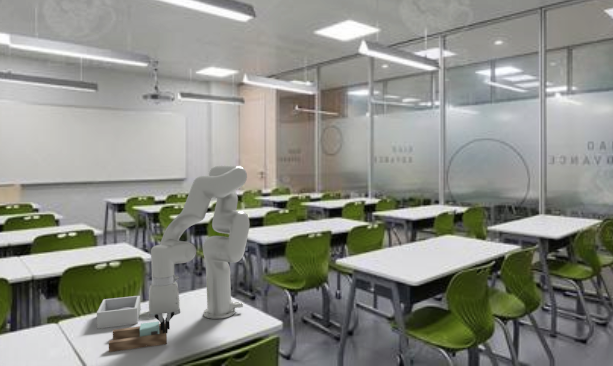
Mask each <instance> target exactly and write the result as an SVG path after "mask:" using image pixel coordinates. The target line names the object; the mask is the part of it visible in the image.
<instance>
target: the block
mask: <svg viewBox="0 0 613 366" xmlns="http://www.w3.org/2000/svg"><path fill="white" fill-rule="evenodd" d="M159 324H160V321H152V322H143V323H140V325H139V326H140V337H141V336H148V335H151V332H154V331H157V334H159Z"/></svg>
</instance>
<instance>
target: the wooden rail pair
mask: <svg viewBox="0 0 613 366" xmlns="http://www.w3.org/2000/svg"><path fill="white" fill-rule="evenodd" d="M140 326H141V325H139V326H132V327H124V328H116V329H113V330H112V340H109V341H108V353H111V352H119V351H125V350H127V351H128V350H132V349H133V350H134V349H135V350H136V349H139V348H147V347H154V346H162V345H167V344H168V337H167V335H168V333H163V330H161V325H160V323H159V334H157V331H154V332H151V335H148V336H141V337H140Z"/></svg>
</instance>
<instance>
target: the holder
mask: <svg viewBox="0 0 613 366" xmlns="http://www.w3.org/2000/svg"><path fill="white" fill-rule="evenodd" d="M124 307H133V308H128V309H121V308H124ZM141 307H142V306H141V295H133V296H131V295H130V296H124V297H114V298H106V299H105V298H104V299H103V300H102V302H101V303H100V305H99V308H98V310H97V311H96V325H97V326H96V327H97V329H104V328H105V329H106V328H114V327H122V326H128V325H130V326H131V325H138V323H139V319H140V314H141V310H142V308H141ZM117 309H119V310H117Z"/></svg>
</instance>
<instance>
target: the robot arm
mask: <svg viewBox="0 0 613 366" xmlns="http://www.w3.org/2000/svg"><path fill="white" fill-rule="evenodd" d="M208 172H209V173H208V175H201V176H198V177H196V178H195V179H194V180H193V183H192V185H191V188H190V190H189V193H188V194H187V195H188V196H187V198H186V200H185V203H184V206H183V208H182V210H181V212H180V213H179V214H178V215H177V216H175V218H174V219H173V220H172V221H171V222H170V223H169V224H168V225H167V227H166V229H165V231H164V232H163V235H162V238H161V241H160V244H156V245H154V246H152V247H151V249H150V260H151V262H150V263H151V284H150V285H149V291H148V314H147V315H148V317H149V318H153V319H156V320H158V322H159V324H160V325H161V330H163V333H167V334H168V333H169V332H168V331H169V330H171V329H170V327H171V326H170V321H171V319H173V317H174V316H177V315H179V314H181V309H180V293H179V291H180V290H179V285H178V282H177V280H180V277H179V276H180V275H176V274H175V265H176V264H185V263H188V262H191V261H192V260H194V258H195V257H196V254H197V249H196V246H195V245H194V244H193V243H191V242H188V241H181V240H180V238H181V236H182V235H183V234H184V232H185V231H186V230H187V229H189V228H190V227H191V226H193V225H196V224H198V223H200V222H201V221H203V220H204V219H205V217H206V214H207V212H208V209H209V205H210V203H211V201H212V199H216V202H215V207H214V213H213V217H212V223H211V226H212V229H213V231H214V232H217V233H220V234H226V235H229V236H224V235H222V236H221V235H212V236H209V237H207V238H206V239H205V240H204V242H203V245H202V253H203V256H204V258H203V259H204V263H205V275H206V276H205V277H206V304H207V305H206V308H205V310H203V316H204V318H208V319H210V320H211V319H212V320H216V319H217V320H219V319H226V318H229V317H231V316H234V314H235V313H236V309H237V308H243V307H244V304H243V302H239V301H235V302H234V301H233V300H232V290H231V288H232V287H231V267H230V264H229V263H238V262H240V261H241V260H242V259H243V257H244V255H245V251H246V246H247V241H248V236H249V232H250V226H251V225H250V218H249V216H248V214H247V213H246V212H244V211H241V210H237V209H238V208H237V207H238V200H239V198H238V194H237V190H239V189H240V188H242V187H243V186H244V185H245V184H246V182H247V179H248V174H247V171H246V169H245V168H244V167H242V166H241V165H218V166H213V167H212V168H210V170H209V171H208ZM163 314H166V317H165V318H164V315H163Z"/></svg>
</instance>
